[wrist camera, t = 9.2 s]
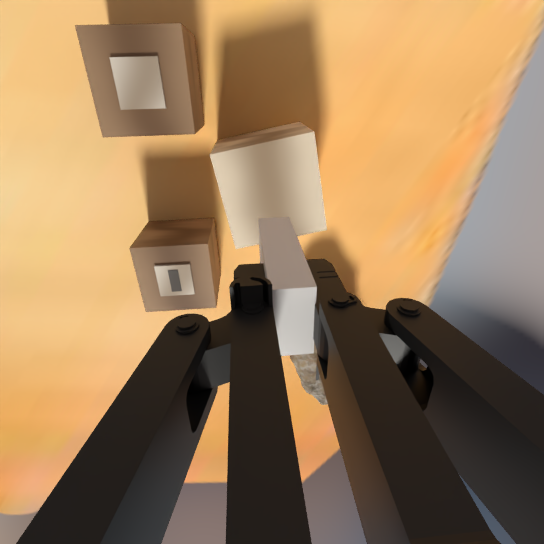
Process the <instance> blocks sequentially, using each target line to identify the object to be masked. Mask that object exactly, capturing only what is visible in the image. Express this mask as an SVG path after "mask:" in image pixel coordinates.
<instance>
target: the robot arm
mask: <svg viewBox="0 0 544 544" xmlns="http://www.w3.org/2000/svg"><path fill="white" fill-rule="evenodd" d="M258 225H259V248H260V263H259V264H243V265H239V266H238V267H237V268H236V269H235V270H234V281H233V282H232V283H231V284H230V287H229V288H230V299H231V311H230V313H228V314H227V315H226V316H224V317H222V318H220V319H217V320H214V321H211V322H209V321H208V319H207V318H206V317H204V316H203V315H199V314H184V315H181V316H178V317H176V318H174V319H172V320H170V321H169V322H168V323H167V324H166V326H165V327H164V329H163V330H162V332H161V333H160V334H159V336H158V337H157V339H156V340H155V342H154V343H153V345H152V346H151V348H150V349H149V350H148V352H147V353H146V355H145V356H144V358H143V359H142V361H141V362H140V364H139V365H138V367H137V368H136V369H135V371H134V372H133V374H132V375H131V377H130V378H129V380H128V381H127V383H126V384H125V386H124V387H123V388H122V390H121V391H120V393H119V394H118V396H117V397H116V399H115V400H114V402H113V403H112V405H111V406H110V407H109V409H108V410H107V412H106V413H105V415H104V416H103V418H102V419H101V421H100V422H99V423H98V425H97V426H96V428H95V429H94V431H93V432H92V434H91V435H90V437H89V438H88V440H87V441H86V442H85V444H84V445H83V447H82V448H81V450H80V451H79V453H78V454H77V456H76V457H75V459H74V460H73V461H72V463H71V464H70V466H69V467H68V469H67V470H66V472H65V473H64V475H63V476H62V477H61V479H60V480H59V482H58V483H57V485H56V486H55V488H54V489H53V491H52V492H51V494H50V495H49V496H48V498H47V499H46V501H45V502H44V504H43V505H42V507H41V508H40V510H39V511H38V513H37V514H36V516H35V517H34V518H33V520H32V521H31V523H30V524H29V526H28V527H27V529H26V530H25V532H24V533H23V535H22V536H21V537H20V539H19V540H18V542H17V543H16V544H161V543H162V540H163V537H164V534H165V531H166V529H167V526H168V524H169V521H170V518H171V515H172V513H173V510H174V507H175V505H176V502H177V499H178V496H179V494H180V491H181V488H182V486H183V483H184V480H185V478H186V475H187V472H188V469H189V467H190V464H191V461H192V459H193V456H194V453H195V450H196V448H197V445H198V442H199V440H200V437H201V434H202V431H203V429H204V426H205V423H206V421H207V418H208V415H209V412H210V410H211V407H212V404H213V402H214V399H215V396H216V394H217V389H218V386H219V385H222V384H225V383H228V382H230V392H229V434H228V475H227V517H226V544H312V543H311V537H310V531H309V525H308V519H307V512H306V506H305V500H304V494H303V488H302V482H301V476H300V470H299V463H298V457H297V451H296V445H295V439H294V433H293V427H292V421H291V415H290V409H289V402H288V396H287V390H286V384H285V378H284V372H283V366H282V360H281V356H286V355H299V354H312V353H314V343H315V346H316V349H317V360H316V380H319V375H320V378H321V381H322V385H323V388H324V392H325V396H326V399H327V403H328V406H329V410H330V413H331V417H332V421H333V424H334V428H335V431H336V435H337V438H338V442H339V446H340V449H341V453H342V456H343V459H344V463H345V467H346V470H347V474H348V477H349V481H350V485H351V488H352V491H353V495H354V499H355V503H356V506H357V510H358V513H359V517H360V520H361V524H362V528H363V531H364V535H365V538H366V542H367V544H501V543H500V542H499V541H498V540H497V539H496V538H495V536H494V535H493V533H492V532H491V530H490V529H489V527H488V525H487V523H486V522H485V520H484V518H483V516H482V515H481V513H480V511H479V509H478V508H477V506H476V504H475V502H474V501H473V499H472V497H471V495H470V494H469V492H468V490H467V489H466V486H465V485H464V483H463V481H462V479H461V478H460V476H461V477H462V478H463V479H464V481H465V482H466V483H467V484H468V485H469V487H470V488H471V489H472V490H473V491H474V493H475V494H476V495H477V496H478V498H479V499H480V500H481V501H482V502H483V504H484V505H485V506H486V507H487V508H488V510H489V511H490V512H491V513H492V515H493V516H494V517H495V518H496V519H497V521H498V522H499V523H500V524H501V525H502V527H503V528H504V529H505V530H506V532H507V533H508V534H509V535H510V536H511V538H512V539H513V540H514V541H515V543H516V544H544V395H543V394H542V393H540V392H539V391H538V390H536V389H535V388H534V387H532V386H531V385H530V384H529V383H527V382H526V381H525V380H523V379H522V378H521V377H519V376H518V375H517V374H515V373H514V372H513V371H512V370H510V369H509V368H508V367H506V366H505V365H504V364H502V363H501V362H500V361H498V360H497V359H495V358H494V357H493V356H492V355H490V354H489V353H488V352H487V351H485V350H484V349H482V348H481V347H480V346H479V345H477V344H476V343H475V342H473V341H472V340H471V339H469V338H468V337H467V336H465V335H464V334H463V333H462V332H460V331H459V330H458V329H456V328H455V327H454V326H452V325H451V324H450V323H448V322H447V321H446V320H444V319H443V318H441V317H440V316H439V315H438V314H437V313H435V312H434V311H433V310H431V309H430V308H429V307H427V306H426V305H424V304H423V303H421V302H419V301H416V300H413V299H409V298H398V299H393V300H391V301H389V302H388V303H387V305H386V310H383V309H375V308H369V307H365V306H363V305H362V303H361V301H360V300H359V299H358V298H357V297H356V296H355V295H353V294H351V293H348V292H346V290H345V288H344V286H343V284H342V282H341V280H340V278H339V277H338V275H337V273H336V272H335V269H334V267H333V265H332V264H331V263H329V262H328V261H327V260H325V259H312V260H306V258H305V255H304V253H303V250H302V248H301V245H300V243H299V240H298V238H297V235H296V233H295V230H294V228H293V225H292V223H291V220H290V218H289V217H278V218H258ZM420 359H422V360H423V361H424V362H425V363H426V364H427V365H428V367H427V368H425V367H424V366H423V365H421V363H420ZM458 473H459V474H458ZM459 475H460V476H459Z"/></svg>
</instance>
